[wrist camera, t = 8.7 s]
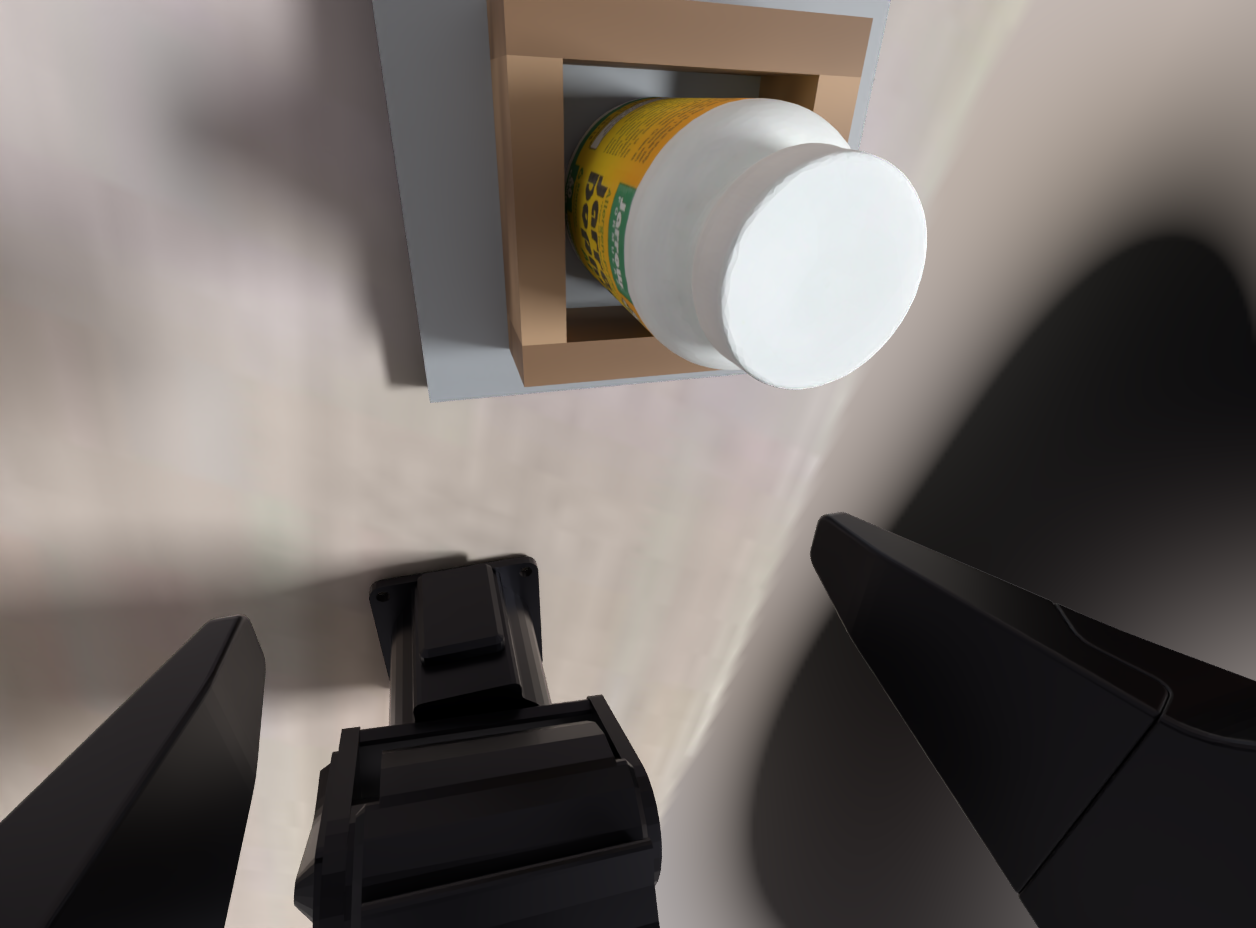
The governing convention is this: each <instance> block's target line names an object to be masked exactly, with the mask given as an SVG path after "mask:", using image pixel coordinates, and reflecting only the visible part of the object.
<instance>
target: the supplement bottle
mask: <svg viewBox="0 0 1256 928" xmlns="http://www.w3.org/2000/svg"><path fill="white" fill-rule="evenodd" d="M564 189H565V229H566V232H567V235H568V238H569V241H570V243H571V245H572V248H573V250H574V251H575V253H576V255H577V257H578V258H579V260H580V261H581V262H582V264H583V265H584V266H585V267H586V269H587V270H588V271H589V272H590V273H591V274H592V275H593V276H594V277H595V278H596V279H597V280H598V281H599V282H600V283H601V284H602V285H603V286H604V287H605V288H606V289H607V290H608V291H609V292H610V293H611V294H612V295H613V296H614V297H615V298H616V299H617V300H618V301H619V302H620V303H621V304H622V305H623V306H624V307H625V308H626V309H627V310H628V311H629V312H630V313H631V314H632V315H633V316H634V317H635V318H636V319H637V320H638V321H639V322H640V323H641V324H642V325H643V326H644V327H645V328H646V329H647V330H648V331H649V332H650V333H651V334H652V335H653V336H654V337H655V338H656V339H657V340H658V341H660V342H661V343H662V344H663V345H664V346H665V347H667V348H668V349H669V350H670V351H672V352H673V353H675V354H677V355H678V356H680V357H682V358H684V359H685V360H687V361H689V362H692V363H694V364H697V365H700V366H704V367H708V368H713V369H720V370H743V371H744V372H746V373H747V374H748V375H750V376H752V377H753V378H755V379H757V380H758V381H760V382H762V383H765V384H768V385H770V386H773V387H777V388H782V389H791V390H799V389H808V388H814V387H817V386H821V385H825V384H827V383H830V382H832V381H835V380H837V379H840V378H842V377H844V376H846V375H848V374H849V373H851V372H852V371H854V370H855V369H857V368H858V367H860V366H861V365H862V364H864V363H865V362H866V361H868V360H869V359H870V358H871V357H872V356H873V355H874V354H875V353H876V352H877V351H878V350H879V349H880V348H881V347H882V346H883V345H884V344H885V343H886V342H887V341H888V339H889V338H890V337H891V336H892V334H893V333H894V332H895V330H896V329H897V327H898V326H899V325H900V324H901V322H902V321H903V319H904V317H905V315H906V314H907V312H908V310H909V308H910V306H911V303H912V302H913V300H914V297H915V295H916V292H917V289H918V286H919V283H920V280H921V277H922V273H923V268H924V263H925V257H926V248H927V230H926V221H925V215H924V211H923V207H922V204H921V202H920V199H919V197H918V194H917V192H916V190H915V189H914V187H913V186H912V184H911V182H910V181H909V180H908V178H907V177H906V176H905V175H904V174H903V173H902V172H901V171H900V170H899V169H898V168H897V167H896V166H894V165H893V164H891V163H890V162H888V161H887V160H884V159H882V158H880V157H878V156H876V155H873V154H870V153H867V152H864V151H859V150H852V149H851V148H850V147H849V145H848V143H847V142H846V141H845V140H844V138H843V137H842V136H841V135H840V133H839V132H838V131H837V130H836V129H835V128H834V127H833V126H832V125H831V124H829V123H828V122H827V121H826V120H825V119H823V118H822V117H821V116H819V115H818V114H816V113H814V112H813V111H811V110H809V109H807V108H805V107H802V106H800V105H797V104H794V103H790V102H786V101H782V100H776V99H767V98H675V97H648V98H640V99H634V100H631V101H628V102H625V103H623V104H621V105H618V106H616V107H614V108H613V109H611V110H609V111H607V112H606V113H604V114H603V115H602V116H600V117H599V118H598V119H597V120H596V121H595V122H594V123H593V124H592V125H591V126H590V127H589V128H588V130H587V131H586V132H585V134H584V135H583V136H582V138H581V139H580V141H579V143H578V145H577V147H576V148H575V150H574V152H573V155H572V157H571V159H570V161H569V164H568V167H567V170H566V174H565V178H564Z"/></svg>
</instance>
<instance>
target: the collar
mask: <svg viewBox="0 0 1256 928" xmlns="http://www.w3.org/2000/svg"><path fill="white" fill-rule="evenodd" d="M486 2H487V18H488V33H489V48H490V63H491V78H492V94H493V109H494V124H495V139H496V154H497V170H498V185H499V200H500V215H501V230H502V246H503V261H504V276H505V291H506V307H507V322H508V337H509V349H510V352H511V355H512V357H513V360H514V362H515V365H516V367H517V370H518V372H519V375H520V377H521V380H522V382H523V385H524V387H534V386H545V385H557V384H568V383H580V382H591V381H602V380H614V379H625V378H636V377H648V376H659V375H670V374H682V373H693V372H704V371H716V370H720V369H713V368H708V367H704V366H700V365H697V364H694V363H692V362H689V361H687V360H685V359H684V358H682V357H680V356H678V355H677V354H675V353H673V352H672V351H670V350H669V349H668V348H667V347H665V346H664V345H663V344H662V343H661V342H660V341H658V340H657V339H656V338H655V337H654V336H653V335H652V334H651V333H650V332H649V331H648V330H647V329H646V328H645V327H644V326H643V325H642V324H641V323H640V322H639V321H638V320H637V319H636V318H635V317H634V316H633V315H632V314H631V313H630V312H629V311H628V310H627V309H626V308H625V307H624V306H623V305H622V306H603V307H585V308H566V263H565V189H564V116H563V64H565V65H581V66H598V67H614V68H631V69H647V70H664V71H680V72H696V73H713V74H729V75H746V76H761V81H760V89H759V96H758V98H767V99H776V100H782V101H786V102H790V103H794V104H797V105H800V106H802V107H805V108H807V109H809V110H811V111H813V112H814V113H816V114H818V115H819V116H821V117H822V118H823V119H825V120H826V121H827V122H828V123H829V124H831V125H832V126H833V127H834V128H835V129H836V130H837V131H838V132H839V133H840V135H841V136H842V137H843V138H844V140H845V141H846V142H847V143H848V139H849V134H850V130H851V125H852V120H853V115H854V110H855V105H856V100H857V95H858V90H859V85H860V80H861V76H862V71H863V66H864V61H865V56H866V51H867V46H868V41H869V36H870V31H871V27H872V22H873V18H867V17H857V16H847V15H836V14H826V13H816V12H805V11H795V10H784V9H774V8H764V7H753V6H743V5H733V4H722V3H712V2H702V1H691V0H486Z"/></svg>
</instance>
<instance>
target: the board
mask: <svg viewBox="0 0 1256 928" xmlns="http://www.w3.org/2000/svg"><path fill="white" fill-rule="evenodd" d="M691 1H702V2H712V3H722V4H733V5H743V6H753V7H764V8H774V9H784V10H795V11H805V12H816V13H826V14H836V15H847V16H857V17H867V18H873V22H872V27H871V31H870V36H869V41H868V46H867V51H866V56H865V61H864V66H863V71H862V76H861V80H860V85H859V90H858V95H857V100H856V105H855V110H854V115H853V120H852V125H851V130H850V134H849V139H848V145H849V147H850V148H851V149H852V150H859V147H860V142H861V138H862V133H863V128H864V124H865V119H866V114H867V110H868V105H869V100H870V96H871V91H872V86H873V81H874V77H875V72H876V67H877V63H878V58H879V53H880V49H881V44H882V39H883V35H884V30H885V25H886V21H887V16H888V11H889V7H890V2H891V0H691ZM372 5H373V12H374V19H375V26H376V33H377V40H378V46H379V53H380V60H381V67H382V74H383V81H384V88H385V95H386V102H387V109H388V115H389V122H390V129H391V136H392V143H393V150H394V157H395V164H396V171H397V178H398V184H399V191H400V198H401V205H402V212H403V219H404V226H405V233H406V240H407V247H408V254H409V260H410V267H411V274H412V281H413V288H414V295H415V302H416V309H417V316H418V323H419V329H420V336H421V343H422V350H423V357H424V364H425V371H426V378H427V385H428V392H429V398H430V403H431V402H442V401H453V400H464V399H475V398H486V397H497V396H508V395H519V394H530V393H541V392H552V391H563V390H574V389H585V388H596V387H607V386H618V385H629V384H640V383H651V382H662V381H673V380H684V379H695V378H706V377H717V376H728V375H739V374H747V373H746V372H744V371H743V370H716V371H704V372H693V373H682V374H670V375H659V376H648V377H636V378H625V379H614V380H602V381H591V382H580V383H568V384H557V385H545V386H534V387H524V385H523V382H522V380H521V377H520V375H519V372H518V370H517V367H516V365H515V362H514V360H513V357H512V355H511V352H510V349H509V337H508V322H507V307H506V291H505V276H504V261H503V246H502V230H501V215H500V200H499V185H498V170H497V154H496V139H495V124H494V109H493V94H492V78H491V63H490V48H489V33H488V18H487V2H486V0H372ZM760 81H761V76H746V75H729V74H713V73H696V72H680V71H664V70H647V69H631V68H614V67H598V66H581V65H565V64H563V116H564V178H565V174H566V170H567V167H568V164H569V161H570V159H571V157H572V155H573V152H574V150H575V148H576V147H577V145H578V143H579V141H580V139H581V138H582V136H583V135H584V134H585V132H586V131H587V130H588V128H589V127H590V126H591V125H592V124H593V123H594V122H595V121H596V120H597V119H598V118H599V117H600V116H602V115H603V114H604V113H606V112H607V111H609V110H611V109H613V108H614V107H616V106H618V105H621V104H623V103H625V102H628V101H631V100H634V99H640V98H648V97H675V98H758V96H759V89H760ZM565 263H566V308H585V307H603V306H622V304H621V303H620V302H619V301H618V300H617V299H616V298H615V297H614V296H613V295H612V294H611V293H610V292H609V291H608V290H607V289H606V288H605V287H604V286H603V285H602V284H601V283H600V282H599V281H598V280H597V279H596V278H595V277H594V276H593V275H592V274H591V273H590V272H589V271H588V270H587V269H586V267H585V266H584V265H583V264H582V262H581V261H580V260H579V258H578V257H577V255H576V253H575V251H574V250H573V248H572V245H571V243H570V241H569V238H568V235H567V232H566V229H565Z"/></svg>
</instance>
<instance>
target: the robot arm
mask: <svg viewBox="0 0 1256 928" xmlns="http://www.w3.org/2000/svg"><path fill="white" fill-rule="evenodd" d="M810 557H811V561H812V564H813V567H814V568H815V571H816V573H817V574H818V576H819V578H820V580H821V582H822V584H823V586H824V588H825V590H826V592H827V594H828V596H829V598H830V600H831V602H832V604H833V606H834V607H835V609H836V611H837V613H838V615H839V617H840V619H841V621H842V623H843V625H844V626H845V628H846V630H847V632H848V634H849V636H850V637H851V639H852V641H853V642H854V644H855V646H856V647H857V649H858V650H859V652H860V653H861V655H862V656H863V658H864V659H865V661H866V662H867V664H868V666H869V667H870V669H871V670H872V672H873V673H874V675H875V677H876V678H877V679H878V681H879V683H880V684H881V686H882V687H883V689H884V690H885V692H886V693H887V695H888V696H889V698H890V700H891V701H892V703H893V704H894V706H895V707H896V709H897V710H898V712H899V713H900V715H901V716H902V718H903V719H904V721H905V723H906V724H907V726H908V727H909V729H910V730H911V731H912V733H913V735H914V736H915V738H916V740H917V741H918V743H919V744H920V746H921V747H922V749H923V750H924V752H925V753H926V755H927V757H928V758H929V759H930V761H931V763H932V764H933V766H934V767H935V769H936V770H937V772H938V773H939V775H940V777H941V778H942V780H943V781H944V783H945V784H946V786H947V787H948V789H949V790H950V792H951V793H952V795H953V796H954V798H955V800H956V801H957V802H958V804H959V806H960V807H961V809H962V810H963V812H964V813H965V815H966V816H967V818H968V820H969V821H970V823H971V824H972V826H973V827H974V829H975V830H976V832H977V833H978V835H979V837H980V838H981V840H982V841H983V843H984V844H985V846H986V847H987V849H988V850H989V852H990V853H991V855H992V856H993V858H994V860H995V861H996V863H997V864H998V866H999V867H1000V869H1001V870H1002V872H1003V873H1004V875H1005V877H1006V878H1007V880H1008V881H1009V883H1010V884H1011V886H1012V887H1013V889H1014V890H1015V892H1016V893H1019V894H1018V897H1019V899H1020V900H1021V902H1022V903H1023V905H1024V906H1025V908H1026V909H1027V911H1028V912H1029V914H1030V915H1031V917H1032V918H1033V920H1034V922H1035V923H1036V925H1037V926H1038V928H1256V681H1254V680H1251V679H1249V678H1246V677H1244V676H1241V675H1238V674H1235V673H1233V672H1230V671H1227V670H1225V669H1222V668H1219V667H1217V666H1214V665H1211V664H1209V663H1206V662H1203V661H1200V660H1198V659H1195V658H1193V657H1190V656H1187V655H1184V654H1182V653H1179V652H1176V651H1174V650H1171V649H1169V648H1166V647H1163V646H1161V645H1158V644H1155V643H1153V642H1150V641H1148V640H1145V639H1142V638H1140V637H1137V636H1135V635H1132V634H1129V633H1127V632H1124V631H1122V630H1119V629H1117V628H1114V627H1112V626H1109V625H1107V624H1105V623H1102V622H1099V621H1097V620H1095V619H1092V618H1090V617H1088V616H1085V615H1083V614H1080V613H1078V612H1076V611H1073V610H1071V609H1069V608H1067V607H1064V606H1062V605H1060V604H1053V602H1052V601H1050V600H1048V599H1045V598H1043V597H1041V596H1038V595H1036V594H1034V593H1031V592H1029V591H1027V590H1024V589H1022V588H1019V587H1017V586H1015V585H1013V584H1010V583H1008V582H1006V581H1003V580H1001V579H999V578H996V577H994V576H992V575H989V574H987V573H985V572H982V571H980V570H977V569H975V568H973V567H971V566H968V565H966V564H964V563H961V562H959V561H957V560H954V559H952V558H950V557H947V556H945V555H943V554H940V553H938V552H936V551H933V550H931V549H929V548H926V547H924V546H922V545H919V544H917V543H915V542H912V541H910V540H908V539H905V538H903V537H900V536H898V535H896V534H894V533H891V532H889V531H887V530H884V529H882V528H880V527H877V526H875V525H873V524H870V523H868V522H866V521H864V520H861V519H859V518H857V517H854V516H852V515H850V514H847V513H844V512H837V513H832V514H826V515H823V516H821V517H820V519H819V520H818V523H817V527H816V531H815V535H814V538H813V542H812V546H811V551H810ZM525 567H529V569H528V570H525V571H522V570H521V569H523V568H525ZM380 592H387V593H388V594H385V595H381V594H378V593H380ZM369 600H370V604H371V608H372V612H373V616H374V620H375V624H376V628H377V632H378V636H379V640H380V644H381V648H382V652H383V656H384V660H385V664H386V668H387V672H388V676H389V680H390V707H389V726H384V727H377V728H369V729H362V730H360V727H354V728H346V729H342V732H341V738H340V744H339V751H337V752H333V753H332V757H331V763H330V764H329V765H327V766H326V767H325V768H323V769H322V770H321V771H320V777H319V785H318V793H317V801H316V808H315V815H314V820H313V825H312V829H311V832H310V835H309V838H308V842H307V845H306V848H305V851H304V855H303V858H302V861H301V864H300V868H299V871H298V874H297V877H296V882H295V889H294V906H296V907H297V908H298V909H299V910H300V911H301V912H302V913H303V914H304V915H305V916H306V917H307V918H308V919H309V920H311V921H312V922H313V928H660V926H659V920H658V910H657V902H656V893H655V885H656V883H657V882H658V879H659V875H660V871H661V861H662V841H661V831H660V822H659V816H658V811H657V805H656V801H655V797H654V793H653V790H652V787H651V784H650V781H649V778H648V775H647V773H646V771H645V769H644V767H643V765H642V763H641V761H640V760H639V758H638V756H637V754H636V753H635V751H634V749H633V747H632V746H631V744H630V742H629V740H628V739H627V737H626V735H625V733H624V732H623V730H622V728H621V726H620V725H619V723H618V721H617V720H616V718H615V716H614V714H613V713H612V711H611V709H610V707H609V706H608V704H607V702H606V700H605V699H604V697H603V695H595V696H588V697H587V699H585V700H578V701H570V702H563V703H555V704H552V703H551V699H550V695H549V691H548V686H547V682H546V678H545V674H544V670H543V665H542V661H543V659H542V639H541V619H540V599H539V578H538V568H537V564H536V561H535V560H534V559H533V558H531V557H518V558H512V559H506V560H500V561H494V562H488V563H482V564H476V565H470V566H464V567H458V568H452V569H446V570H440V571H434V572H428V573H422V574H415V575H409V576H403V577H397V578H391V579H385V580H380V581H377V582H375V583H374V584H372V586H371V587H370V594H369ZM265 670H266V669H265V658H264V654H263V652H262V649H261V647H260V644H259V642H258V639H257V637H256V634H255V632H254V629H253V627H252V624H251V622H250V620H249V619H248V617H247V616H245V615H242V614H238V615H232V616H226V617H220V618H215V619H212V620H210V621H208V622H207V623H206V624H205V625H204V626H203V627H202V628H200V629H199V630H198V631H197V632H196V633H195V634H194V635H193V636H192V637H191V638H190V639H189V640H188V641H187V642H186V643H185V644H184V645H183V646H182V647H181V648H180V649H179V650H178V651H177V652H176V653H175V654H174V655H173V656H172V657H171V658H170V659H169V660H167V661H166V662H165V663H164V664H163V665H162V666H161V667H160V668H159V669H158V670H157V671H156V672H155V673H154V674H153V675H152V676H151V677H150V678H149V679H148V680H147V681H146V682H145V683H144V684H143V685H142V686H141V687H140V688H139V689H138V690H137V691H135V692H134V693H133V694H132V695H131V696H130V697H129V698H128V699H127V700H126V701H125V702H124V703H123V704H122V705H121V706H120V707H119V708H118V709H117V710H116V711H115V712H114V713H113V714H112V715H111V716H110V717H109V718H108V719H107V720H106V721H105V722H104V723H102V724H101V725H100V726H99V727H98V728H97V729H96V730H95V731H94V732H93V733H92V734H91V735H90V736H89V737H88V738H87V739H86V740H85V741H84V742H83V743H82V744H81V745H80V746H79V747H78V748H77V749H76V750H75V751H74V752H73V753H72V754H71V755H69V756H68V757H67V758H66V759H65V760H64V761H63V762H62V763H61V764H60V765H59V766H58V767H57V768H56V769H55V770H54V771H53V772H52V773H51V774H50V775H49V776H48V777H47V778H46V779H45V780H44V781H43V782H42V783H41V784H40V785H39V786H38V787H36V788H35V789H34V790H33V791H32V792H31V793H30V794H29V795H28V796H27V797H26V798H25V799H24V800H23V801H22V802H21V803H20V804H19V805H18V806H17V807H16V808H15V809H14V810H13V811H12V812H11V813H10V814H9V815H8V816H7V817H6V818H4V819H3V820H2V821H1V822H0V928H224V926H225V921H226V917H227V912H228V907H229V903H230V898H231V893H232V889H233V884H234V879H235V875H236V870H237V865H238V861H239V856H240V851H241V847H242V842H243V837H244V833H245V828H246V823H247V819H248V814H249V809H250V805H251V800H252V795H253V790H254V784H255V779H256V771H257V762H258V751H259V740H260V728H261V717H262V705H263V694H264V683H265Z"/></svg>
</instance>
